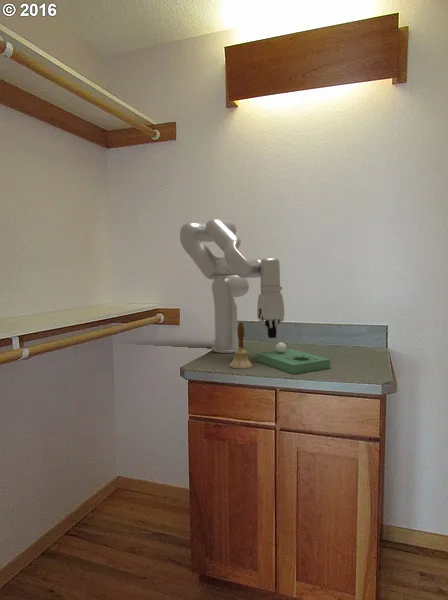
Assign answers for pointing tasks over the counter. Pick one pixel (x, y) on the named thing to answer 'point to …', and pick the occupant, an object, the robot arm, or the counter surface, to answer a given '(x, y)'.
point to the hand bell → (240, 351)
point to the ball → (281, 347)
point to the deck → (293, 361)
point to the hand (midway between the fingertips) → (272, 337)
